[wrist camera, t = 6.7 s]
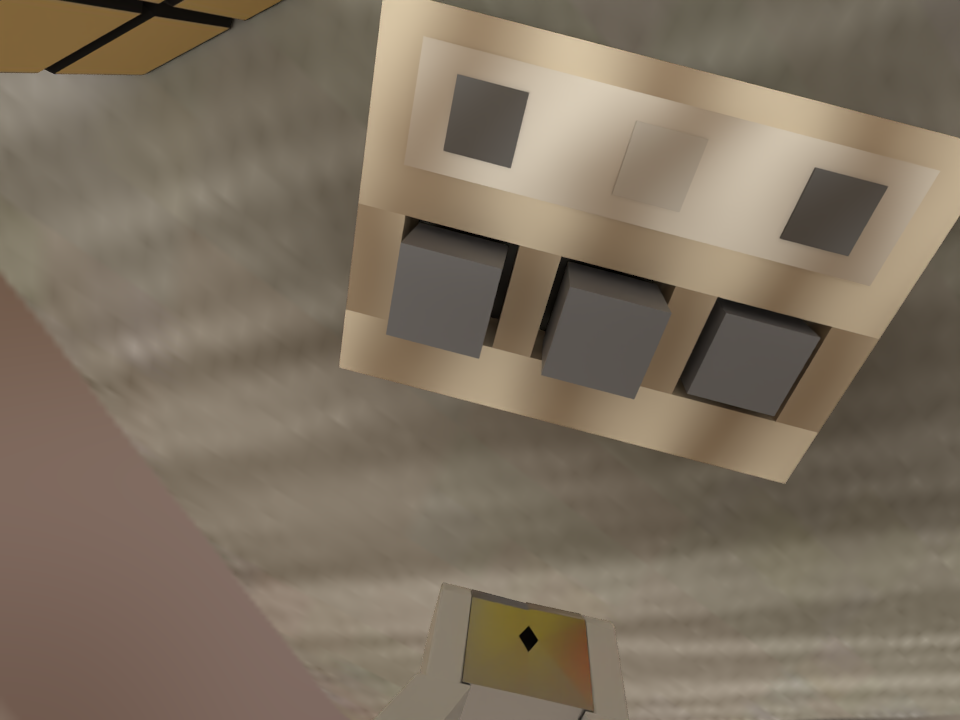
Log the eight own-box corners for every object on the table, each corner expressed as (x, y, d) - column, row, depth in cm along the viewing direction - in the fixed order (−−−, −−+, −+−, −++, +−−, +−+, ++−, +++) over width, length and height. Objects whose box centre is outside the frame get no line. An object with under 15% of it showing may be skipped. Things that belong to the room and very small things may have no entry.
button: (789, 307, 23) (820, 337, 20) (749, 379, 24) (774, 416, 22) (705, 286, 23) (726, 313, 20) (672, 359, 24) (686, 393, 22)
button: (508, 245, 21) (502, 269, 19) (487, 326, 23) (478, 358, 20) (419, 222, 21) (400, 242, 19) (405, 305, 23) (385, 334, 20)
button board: (941, 140, 20) (1010, 150, 17) (761, 443, 26) (787, 488, 23) (406, 0, 20) (381, -14, 17) (360, 338, 26) (336, 370, 23)
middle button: (656, 284, 21) (671, 313, 19) (625, 362, 23) (634, 399, 20) (568, 261, 21) (570, 286, 19) (542, 341, 23) (540, 375, 20)
